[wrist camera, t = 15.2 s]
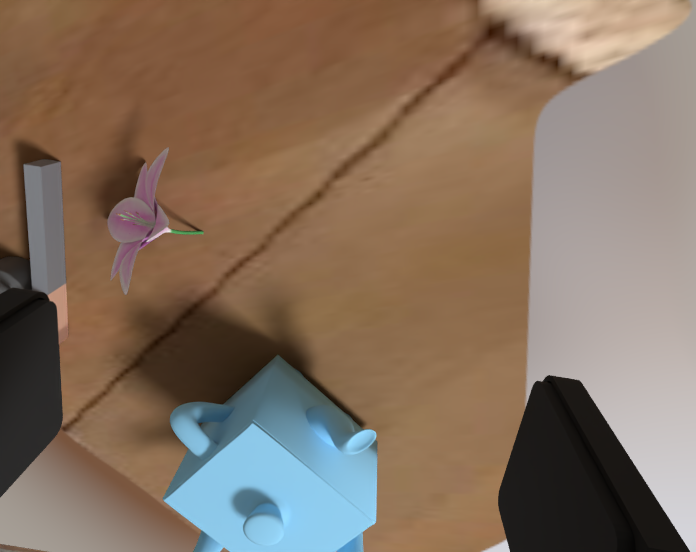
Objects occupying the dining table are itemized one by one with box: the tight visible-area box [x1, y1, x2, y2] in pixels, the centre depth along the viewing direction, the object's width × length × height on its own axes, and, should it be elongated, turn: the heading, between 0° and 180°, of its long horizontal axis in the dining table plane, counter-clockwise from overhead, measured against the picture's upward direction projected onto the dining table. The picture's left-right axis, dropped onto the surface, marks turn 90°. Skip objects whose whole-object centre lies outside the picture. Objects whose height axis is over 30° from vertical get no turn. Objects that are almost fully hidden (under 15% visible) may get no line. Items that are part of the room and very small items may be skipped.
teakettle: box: [163, 355, 377, 552], centre depth 50 cm, size 19×19×15 cm
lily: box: [108, 148, 203, 295], centre depth 46 cm, size 12×12×10 cm
